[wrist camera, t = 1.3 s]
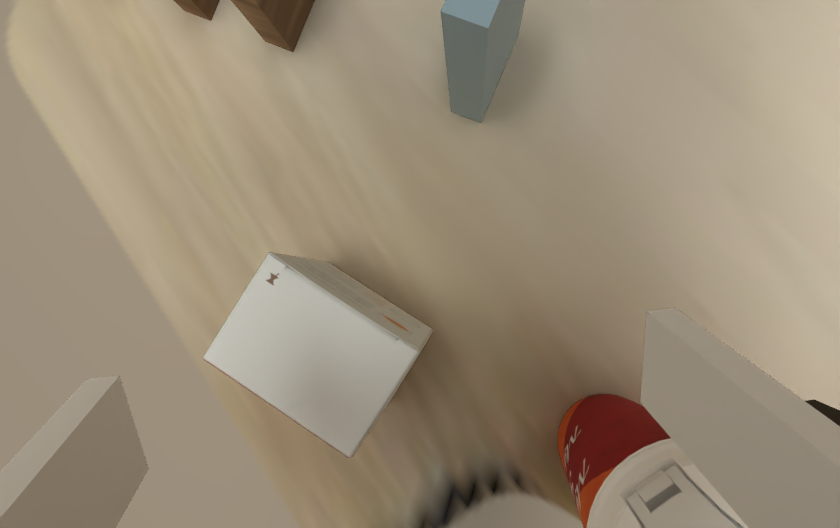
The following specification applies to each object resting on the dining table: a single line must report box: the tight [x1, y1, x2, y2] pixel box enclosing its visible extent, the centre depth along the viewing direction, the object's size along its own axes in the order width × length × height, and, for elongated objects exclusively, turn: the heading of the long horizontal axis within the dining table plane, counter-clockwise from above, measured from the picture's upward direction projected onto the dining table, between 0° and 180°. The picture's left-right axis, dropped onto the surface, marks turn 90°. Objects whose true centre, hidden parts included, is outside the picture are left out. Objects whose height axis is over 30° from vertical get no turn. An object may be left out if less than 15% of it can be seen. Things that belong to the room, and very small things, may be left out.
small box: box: [203, 252, 433, 458], centre depth 27 cm, size 8×6×10 cm
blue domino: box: [441, 0, 525, 123], centre depth 27 cm, size 2×6×12 cm, turn 157°
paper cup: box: [558, 394, 748, 528], centre depth 24 cm, size 8×8×14 cm
